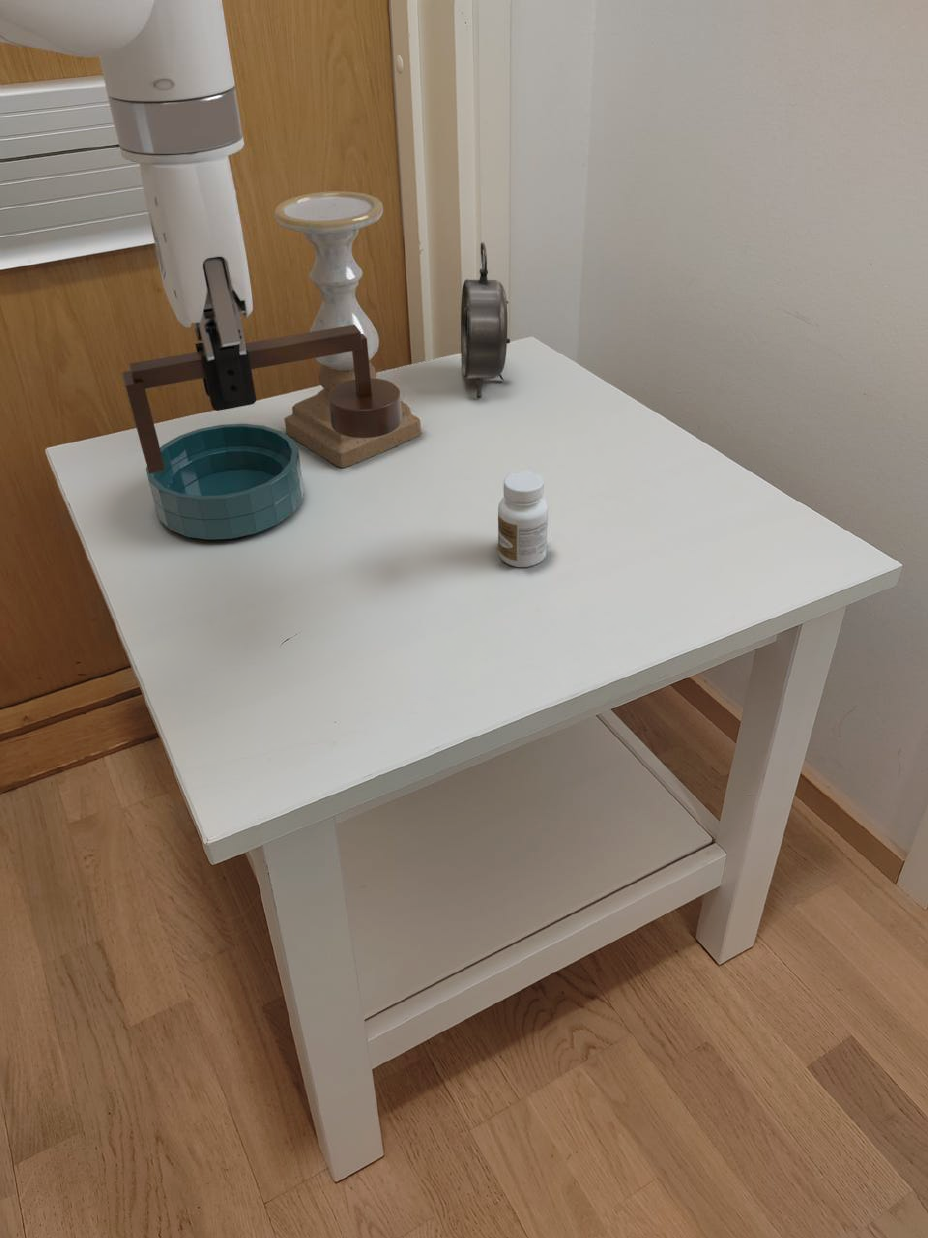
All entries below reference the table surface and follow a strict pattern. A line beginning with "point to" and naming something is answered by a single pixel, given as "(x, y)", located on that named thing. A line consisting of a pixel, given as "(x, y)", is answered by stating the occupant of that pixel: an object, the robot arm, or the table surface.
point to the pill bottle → (522, 520)
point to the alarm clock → (483, 327)
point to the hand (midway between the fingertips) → (231, 397)
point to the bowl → (227, 481)
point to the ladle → (352, 403)
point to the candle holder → (337, 319)
